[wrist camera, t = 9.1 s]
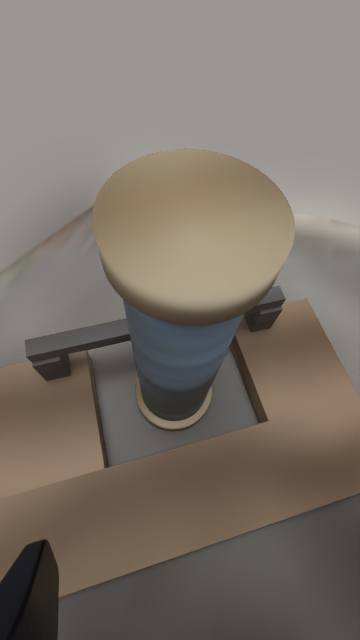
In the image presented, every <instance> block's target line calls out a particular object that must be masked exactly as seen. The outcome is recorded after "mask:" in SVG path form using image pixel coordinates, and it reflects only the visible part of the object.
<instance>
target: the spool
mask: <svg viewBox="0 0 360 640" xmlns="http://www.w3.org/2000/svg"><path fill="white" fill-rule="evenodd" d="M92 222H93V230H94V234H95V238H96V242H97V246H98V250H99V254H100V258H101V262H102V265H103V269H104V272H105V274H106V276H107V279H108V281H109V282H110V284H111V285H112V287H113V288H114V290H115V291H116V292H117V293H118V294H119V295H120V296H121V298H123V301H124V306H125V311H126V317H127V322H128V327H129V332H130V337H131V342H132V348H133V353H134V358H135V363H136V368H137V373H138V377H137V380H136V386H135V393H136V399H137V403H138V406H139V409H140V411H141V413H142V415H143V416H144V417H145V418H146V420H147V421H148V422H150V423H151V424H152V425H154V426H156V427H157V428H160V429H162V430H167V431H180V430H184V429H187V428H189V427H191V426H193V425H194V424H196V423H197V422H198V421H199V420H200V419H201V418H202V417H203V415H204V414H205V412H206V410H207V408H208V406H209V404H210V401H211V397H212V383H213V381H214V379H215V376H216V374H217V372H218V370H219V368H220V365H221V363H222V361H223V359H224V357H225V355H226V352H227V350H228V348H229V346H230V344H231V341H232V339H233V337H234V335H235V333H236V330H237V328H238V326H239V324H240V322H241V319H242V317H243V315H244V313H246V312H247V311H249V310H251V309H252V308H253V307H255V306H256V305H257V304H258V303H259V302H260V301H261V300H262V299H263V298H264V297H265V296H266V295H267V293H268V292H269V290H270V289H271V287H272V286H273V284H274V282H275V280H276V278H277V276H278V274H279V272H280V271H281V269H282V267H283V265H284V263H285V261H286V259H287V257H288V255H289V253H290V251H291V249H292V246H293V241H294V237H295V223H294V217H293V213H292V210H291V207H290V205H289V203H288V201H287V199H286V197H285V196H284V194H283V193H282V191H281V190H280V189H279V188H278V187H277V185H276V184H275V183H274V182H273V181H272V180H271V179H269V178H268V177H267V176H266V175H265V174H263V173H262V172H261V171H259V170H258V169H256V168H254V167H253V166H251V165H249V164H248V163H245V162H243V161H241V160H239V159H237V158H234V157H231V156H228V155H225V154H221V153H217V152H212V151H206V150H197V149H176V150H167V151H161V152H156V153H153V154H149V155H146V156H143V157H141V158H138V159H136V160H134V161H132V162H130V163H128V164H126V165H125V166H123V167H122V168H120V169H119V170H118V171H117V172H115V173H114V174H113V175H112V176H111V177H110V178H109V179H108V180H107V181H106V182H105V184H104V185H103V187H102V188H101V190H100V191H99V193H98V196H97V198H96V200H95V204H94V207H93V215H92Z"/></svg>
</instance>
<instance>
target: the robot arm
mask: <svg viewBox="0 0 360 640" xmlns="http://www.w3.org/2000/svg"><path fill="white" fill-rule="evenodd" d="M58 602H59V569H58V565H57V562H56V559H55V557H54V554H53V551H52V549H51V546H50V543H49V541H48V540H47V539H41V540H38V541H35V542H32V543H29V544H27V545H26V546H25V547H24V548H23V550H22V551H21V553H20V554H19V556H18V557H17V558H16V560H15V561H14V563H13V564H12V566H11V567H10V569H9V570H8V572H7V573H6V575H5V576H4V577H3V579H2V580H1V582H0V640H57V638H58Z"/></svg>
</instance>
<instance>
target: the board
mask: <svg viewBox="0 0 360 640" xmlns="http://www.w3.org/2000/svg"><path fill="white" fill-rule="evenodd" d="M285 299H286V298H285V296H284V294H283V292H282V290H281V288H280V286H275V287H271V289H270V290H269V292H268V293H267V295H266V296H265V297H264V298H263V299H262V300H261V301H260V302H259V303H258V304H257V305H256V306H255V307H253V308H252V309H251V310H249V311H247V312H246V313H244V315H243V317H242V319H241V322H240V324H239V326H238V328H237V330H236V333H235V335H234V337H233V339H232V341H231V344H230V347H231V350H232V352H233V355H234V357H235V360H236V363H237V365H238V368H239V371H240V373H241V376H242V379H243V381H244V384H245V387H246V389H247V392H248V395H249V397H250V400H251V403H252V405H253V408H254V411H255V413H256V416H257V419H258V421H259V424H257V425H253V426H250V427H246V428H243V429H239V430H236V431H232V432H229V433H226V434H222V435H219V436H215V437H212V438H208V439H205V440H201V441H198V442H194V443H191V444H187V445H184V446H181V447H177V448H174V449H170V450H167V451H163V452H160V453H156V454H153V455H149V456H146V457H143V458H139V459H136V460H132V461H129V462H125V463H122V464H118V465H115V466H111V467H108V460H107V454H106V448H105V442H104V436H103V430H102V423H101V417H100V411H99V405H98V399H97V392H96V386H95V380H94V374H93V368H92V362H91V358H90V356H89V354H88V352H87V350H90V349H94V348H99V347H103V346H107V345H112V344H116V343H121V342H125V341H130V340H131V337H130V332H129V327H128V322H127V318H126V319H122V320H117V321H112V322H108V323H103V324H98V325H94V326H89V327H84V328H80V329H75V330H70V331H66V332H61V333H56V334H52V335H47V336H42V337H38V338H33V339H28V340H25V345H26V357H27V358H28V359H29V360H30V361H27V362H23V363H19V364H14V365H10V366H5V367H1V368H0V582H1V580H2V579H3V577H4V576H5V575H6V573H7V572H8V570H9V569H10V567H11V566H12V564H13V563H14V561H15V560H16V558H17V557H18V556H19V554H20V553H21V551H22V550H23V548H24V547H25V546H26V545H27V544H29V543H32V542H35V541H38V540H41V539H47V540H48V541H49V543H50V546H51V549H52V551H53V554H54V557H55V559H56V562H57V565H58V569H59V597H62V596H65V595H68V594H71V593H74V592H77V591H80V590H82V589H85V588H88V587H91V586H94V585H97V584H100V583H103V582H105V581H108V580H111V579H114V578H117V577H120V576H123V575H126V574H129V573H131V572H134V571H137V570H140V569H143V568H146V567H149V566H152V565H154V564H157V563H160V562H163V561H166V560H169V559H172V558H175V557H178V556H180V555H183V554H186V553H189V552H192V551H195V550H198V549H201V548H203V547H206V546H209V545H212V544H215V543H218V542H221V541H224V540H227V539H229V538H232V537H235V536H238V535H241V534H244V533H247V532H250V531H252V530H255V529H258V528H261V527H264V526H267V525H270V524H273V523H276V522H278V521H281V520H284V519H287V518H290V517H293V516H296V515H299V514H301V513H304V512H307V511H310V510H313V509H316V508H319V507H322V506H325V505H327V504H330V503H333V502H336V501H339V500H342V499H345V498H348V497H350V496H353V495H356V494H359V493H360V398H359V396H358V394H357V392H356V391H355V389H354V387H353V385H352V383H351V381H350V379H349V377H348V375H347V374H346V372H345V370H344V368H343V366H342V364H341V362H340V360H339V358H338V357H337V355H336V353H335V351H334V349H333V347H332V345H331V343H330V341H329V340H328V338H327V336H326V334H325V332H324V330H323V328H322V326H321V324H320V323H319V321H318V319H317V317H316V315H315V313H314V311H313V309H312V307H311V306H310V304H309V302H308V300H307V299H303V300H298V301H294V302H289V303H285V304H283V302H284V301H285Z"/></svg>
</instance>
